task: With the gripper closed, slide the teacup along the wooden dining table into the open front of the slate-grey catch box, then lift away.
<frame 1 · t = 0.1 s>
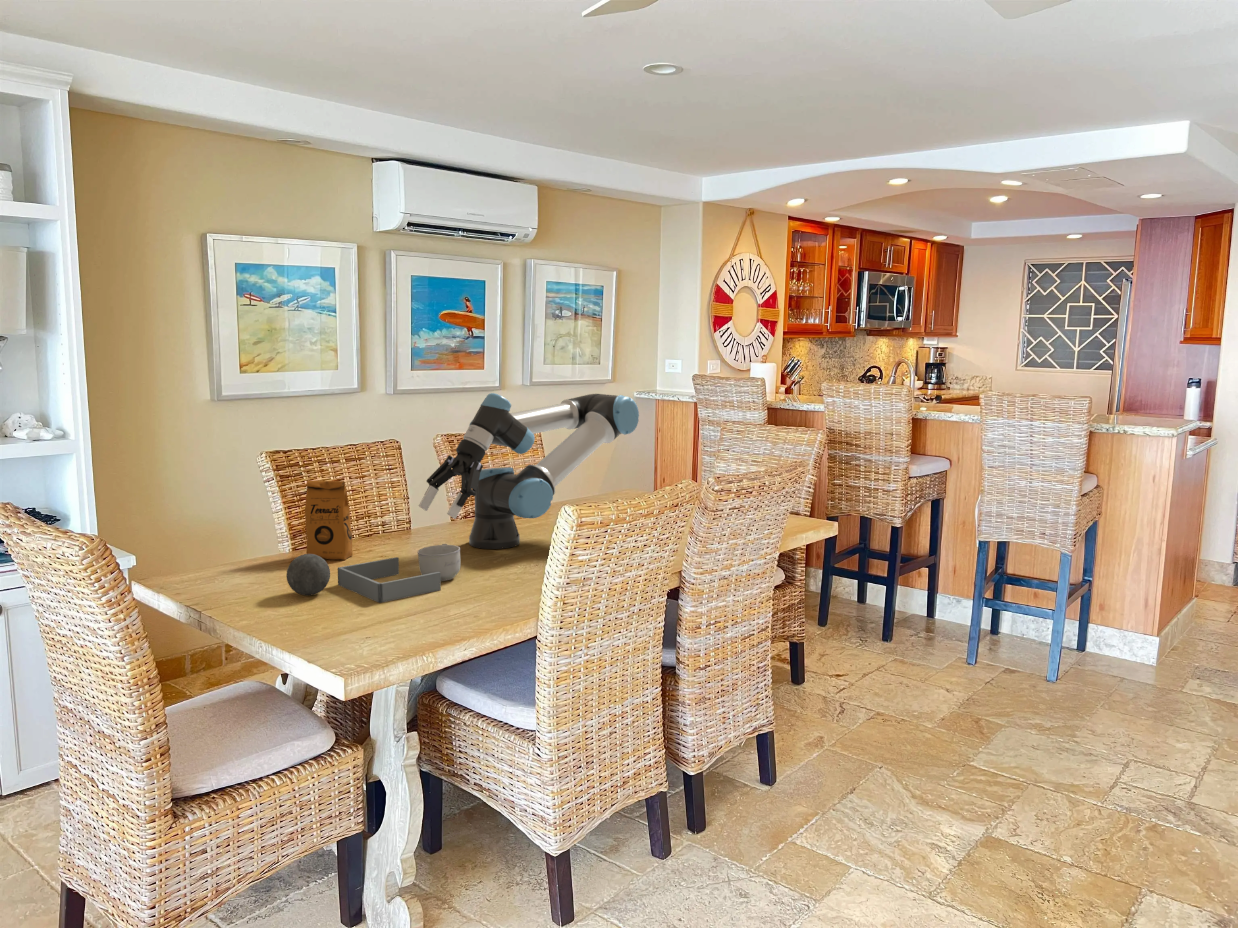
hand: (436, 512, 249), 15 cm above the table, tool tilted 35°, fingers open, 13 cm apart
teacup: (441, 577, 243), on the table
coffee package: (330, 558, 261), on the table
catch box: (390, 587, 232), on the table
decorative ball: (309, 595, 225), on the table
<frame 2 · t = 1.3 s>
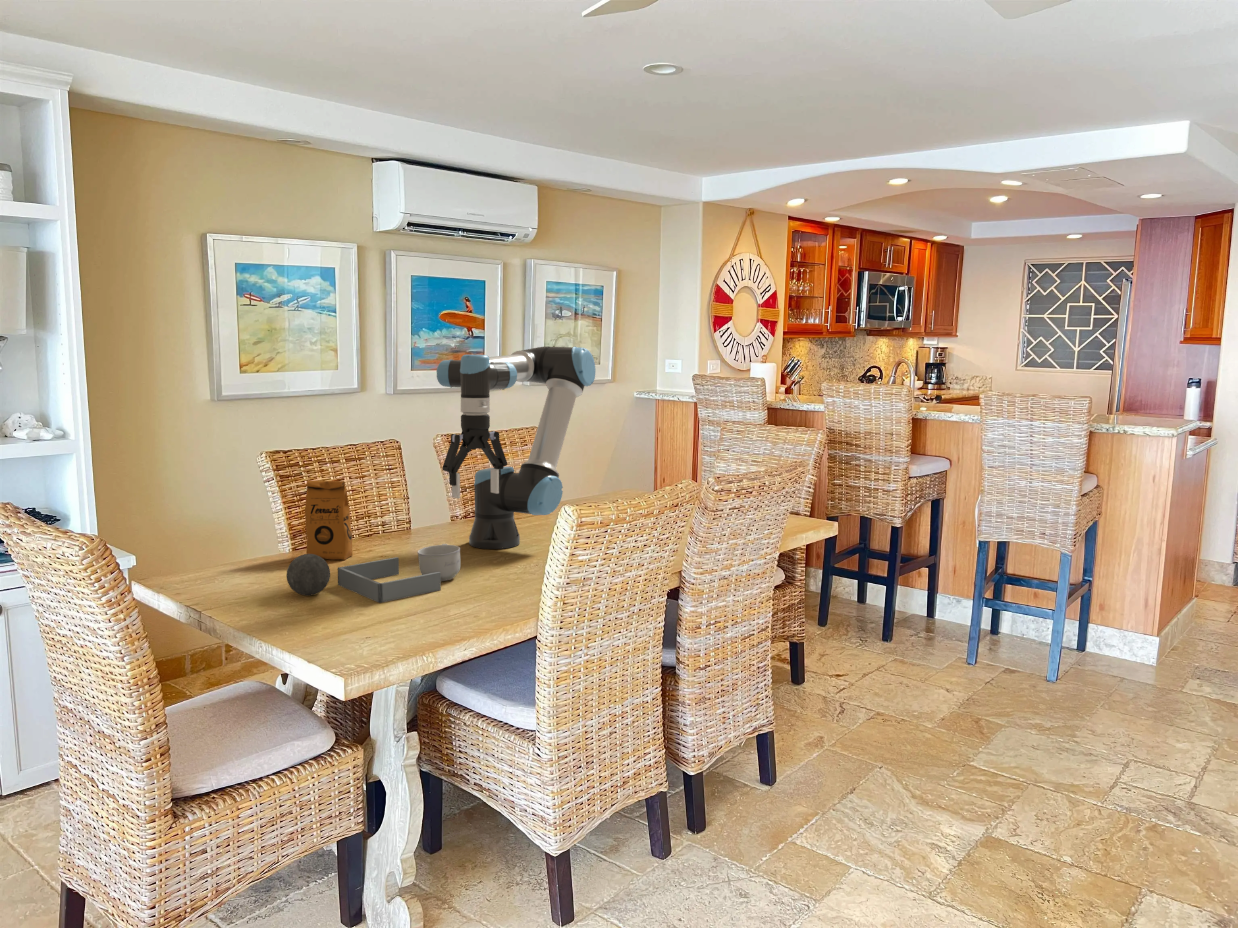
hand: (475, 495, 247), 20 cm above the table, tool pointing down, fingers open, 12 cm apart
nothing on the table moved.
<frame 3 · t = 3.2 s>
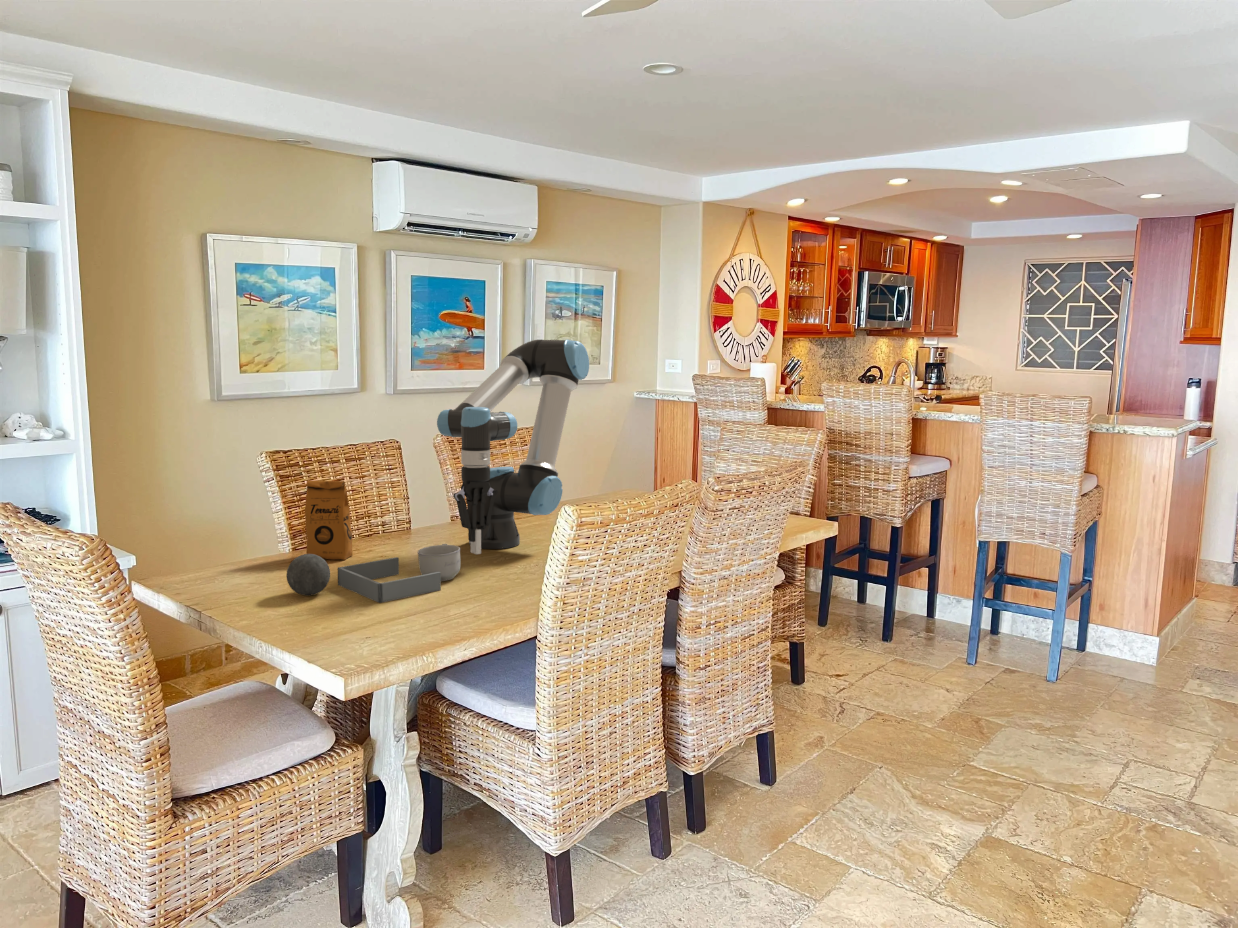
hand: (475, 552, 249), 5 cm above the table, tool pointing down, fingers closed
nothing on the table moved.
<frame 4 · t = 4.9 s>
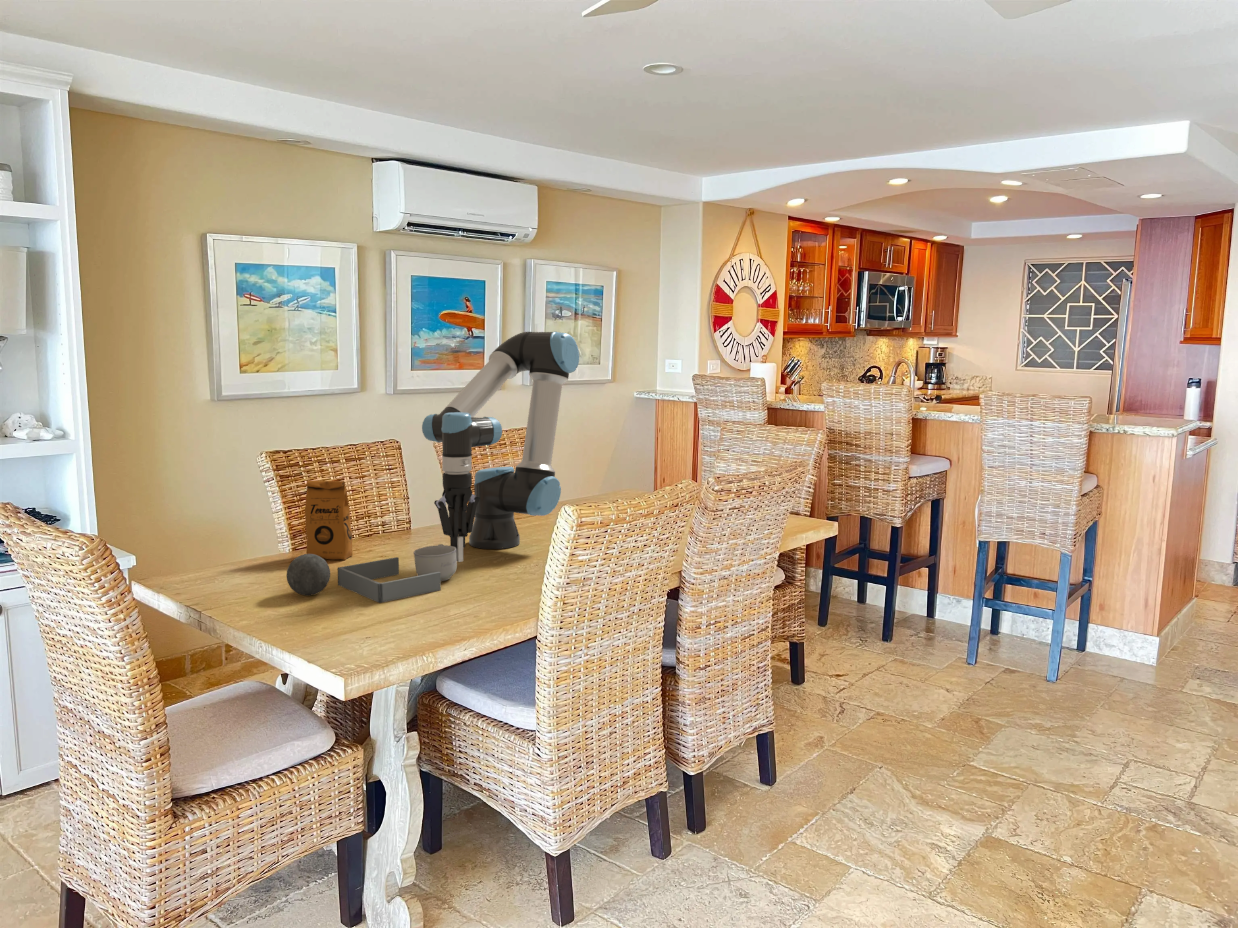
hand: (458, 560, 245), 4 cm above the table, tool pointing down, fingers closed
teacup: (437, 578, 242), on the table, touching gripper
everything else where it was.
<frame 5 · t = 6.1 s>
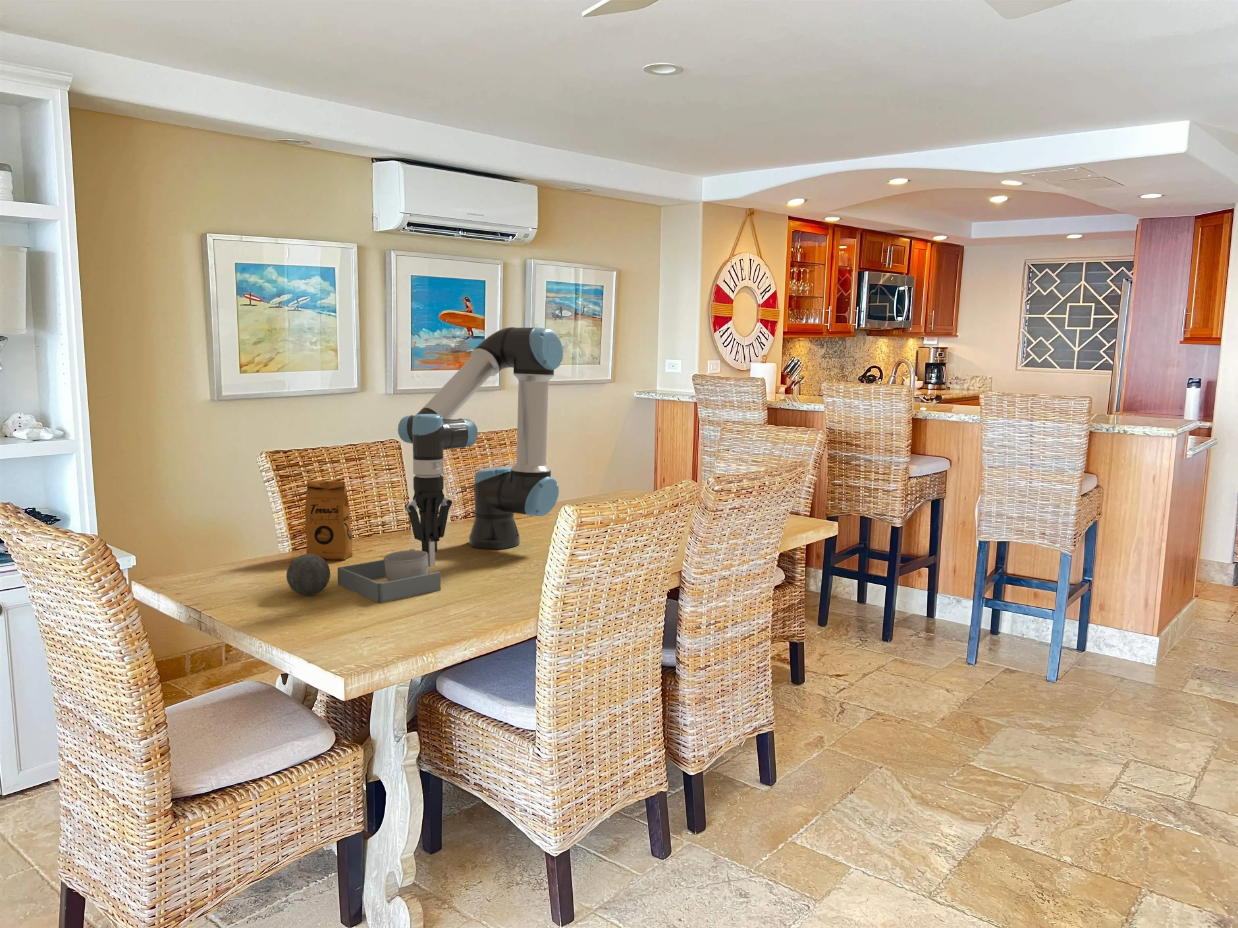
hand: (429, 565, 239), 4 cm above the table, tool pointing down, fingers closed
teacup: (408, 584, 236), on the table, touching gripper
everything else where it was.
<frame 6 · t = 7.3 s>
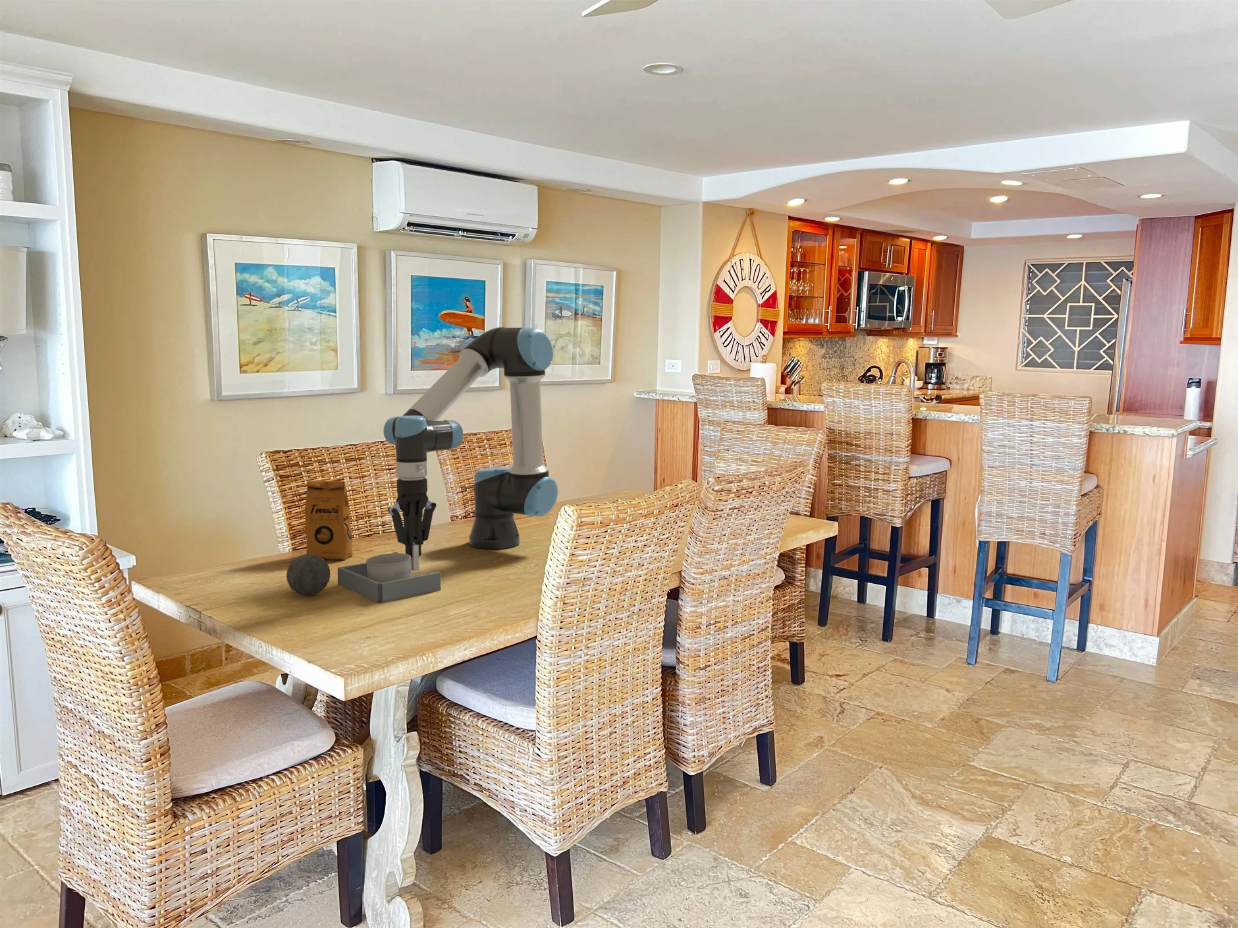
hand: (413, 569, 236), 3 cm above the table, tool pointing down, fingers closed
teacup: (392, 587, 232), on the table, touching gripper
everything else where it was.
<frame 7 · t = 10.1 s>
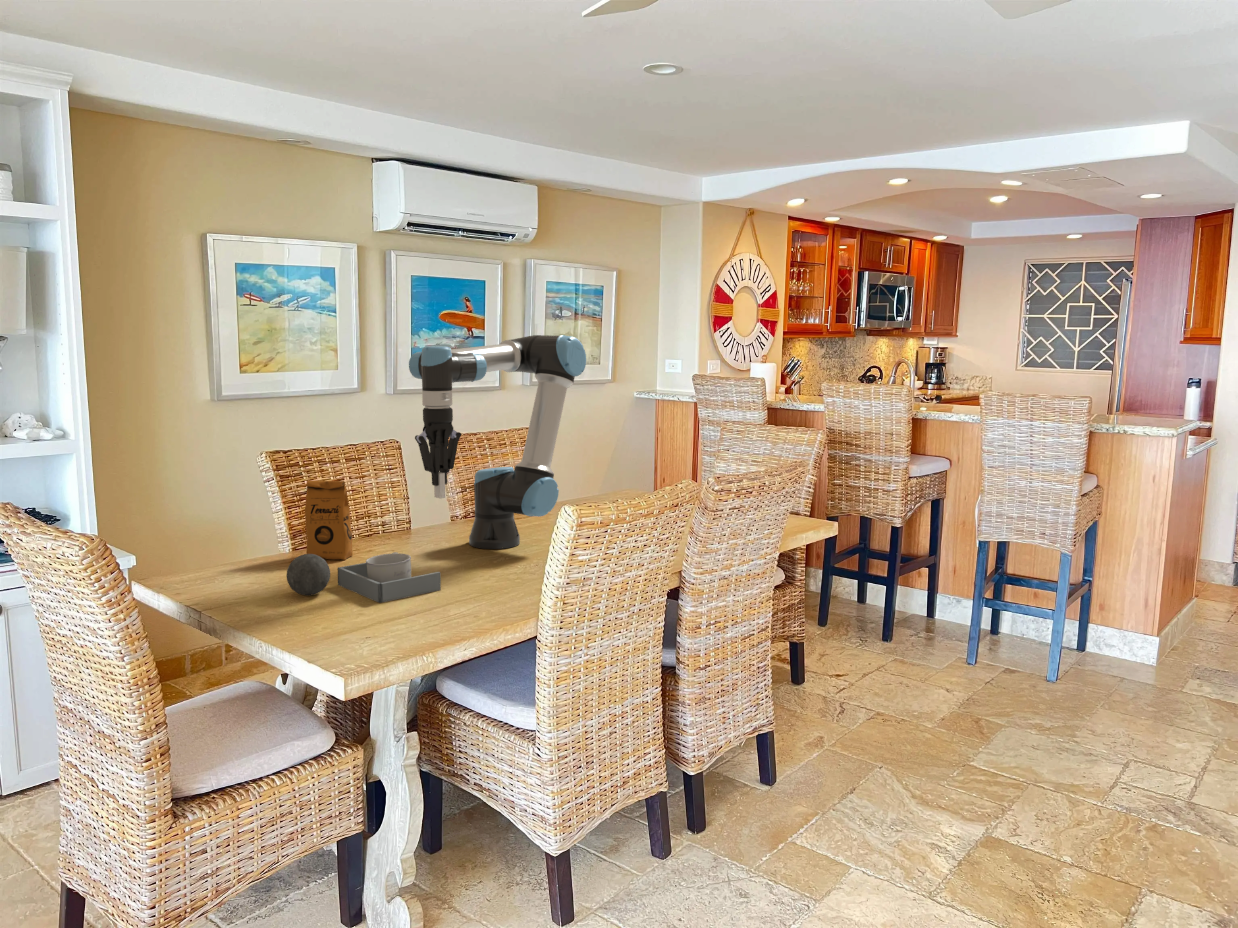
hand: (439, 497, 242), 21 cm above the table, tool pointing down, fingers closed
teacup: (391, 588, 232), on the table
everything else where it was.
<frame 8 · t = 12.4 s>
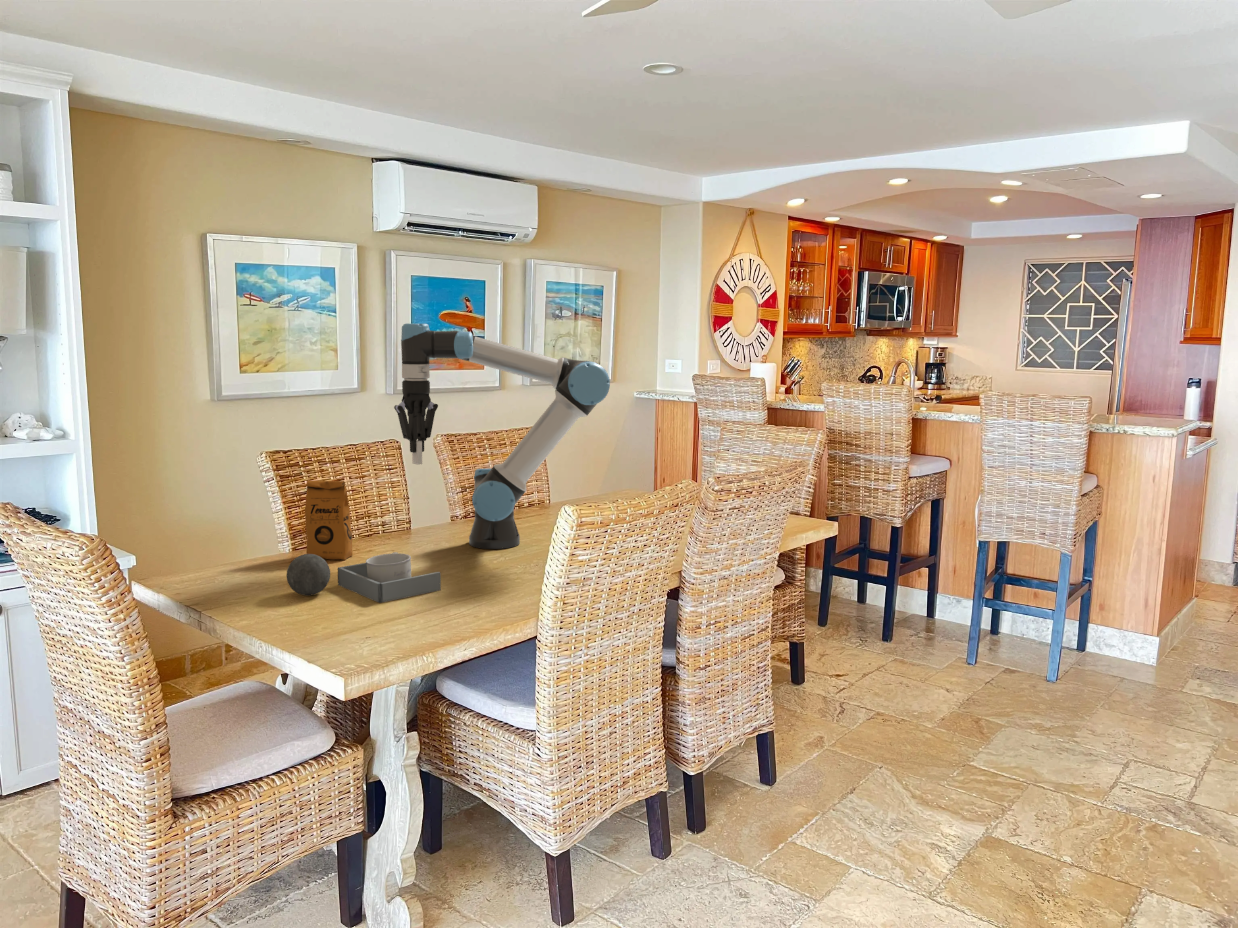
hand: (417, 463, 261), 26 cm above the table, tool pointing down, fingers closed
nothing on the table moved.
at the end: teacup inside the target area on the catch box (2.3 cm from its centre), point 0.0 cm above the catch box's base; teacup tilted 0°; teacup moved 14.7 cm from its start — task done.
